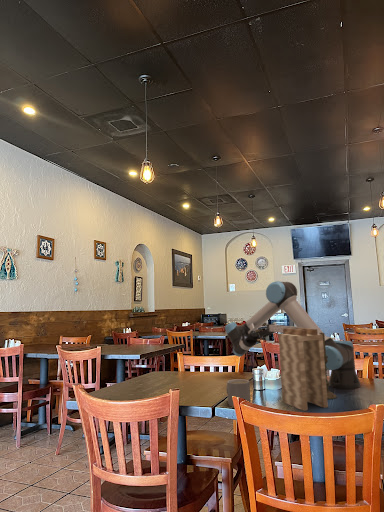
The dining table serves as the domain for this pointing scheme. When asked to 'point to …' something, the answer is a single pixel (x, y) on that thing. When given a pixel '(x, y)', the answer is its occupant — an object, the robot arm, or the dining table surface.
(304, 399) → the brown wavy-patterned folding screen
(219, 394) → the dining table surface
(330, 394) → the candlestick holder
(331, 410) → the dining table surface
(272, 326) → the hook arm
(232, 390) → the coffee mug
